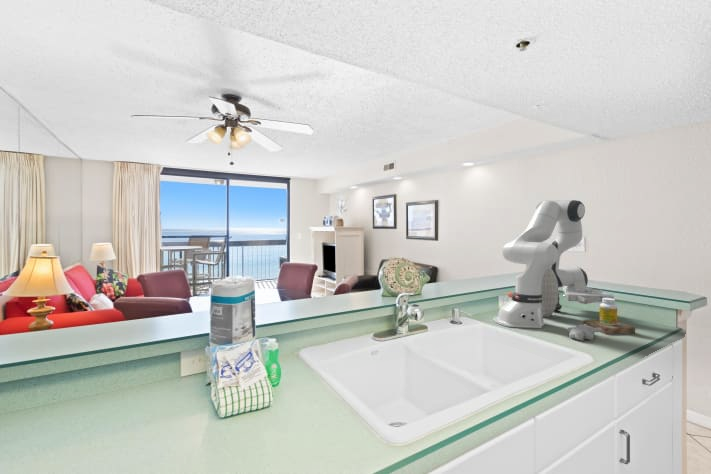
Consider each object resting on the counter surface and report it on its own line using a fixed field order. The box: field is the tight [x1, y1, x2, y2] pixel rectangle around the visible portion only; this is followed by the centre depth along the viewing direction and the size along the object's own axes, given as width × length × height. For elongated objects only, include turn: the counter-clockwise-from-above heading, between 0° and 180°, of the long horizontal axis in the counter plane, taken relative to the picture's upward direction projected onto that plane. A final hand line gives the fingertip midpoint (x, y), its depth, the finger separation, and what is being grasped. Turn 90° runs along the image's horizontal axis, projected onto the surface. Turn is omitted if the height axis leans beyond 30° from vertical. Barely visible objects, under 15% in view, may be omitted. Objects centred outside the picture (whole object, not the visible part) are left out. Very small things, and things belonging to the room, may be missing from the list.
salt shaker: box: [553, 291, 563, 314], centre depth 177 cm, size 6×6×12 cm
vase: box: [541, 267, 559, 318], centre depth 169 cm, size 13×13×28 cm
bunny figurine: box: [567, 323, 603, 342], centre depth 136 cm, size 10×5×15 cm
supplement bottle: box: [598, 298, 618, 325], centre depth 146 cm, size 6×6×11 cm
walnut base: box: [582, 319, 636, 335], centre depth 146 cm, size 14×12×2 cm
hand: (596, 300), depth 156 cm, fingers open, 8 cm apart
